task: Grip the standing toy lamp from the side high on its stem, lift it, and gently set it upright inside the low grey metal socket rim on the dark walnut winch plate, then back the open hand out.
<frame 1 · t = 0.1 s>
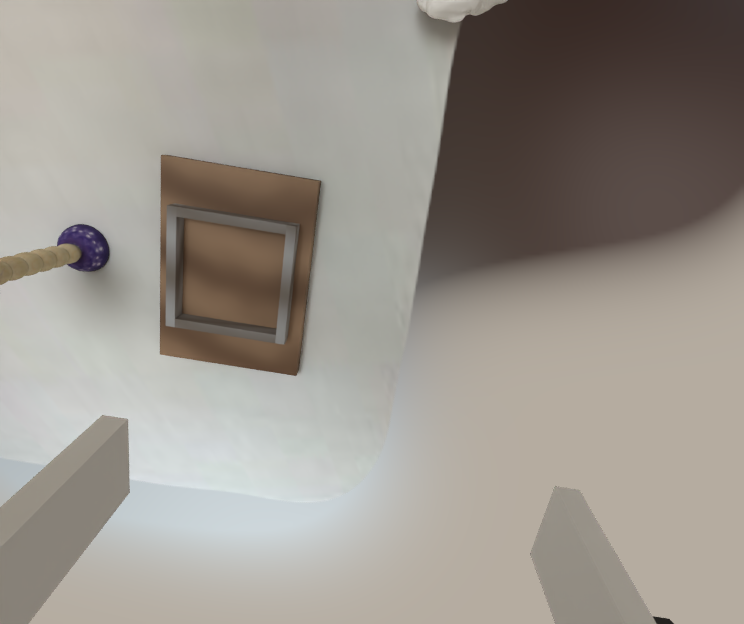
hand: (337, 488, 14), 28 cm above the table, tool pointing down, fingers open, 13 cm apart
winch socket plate: (238, 270, 41), on the table
toy lamp: (90, 246, 40), on the table
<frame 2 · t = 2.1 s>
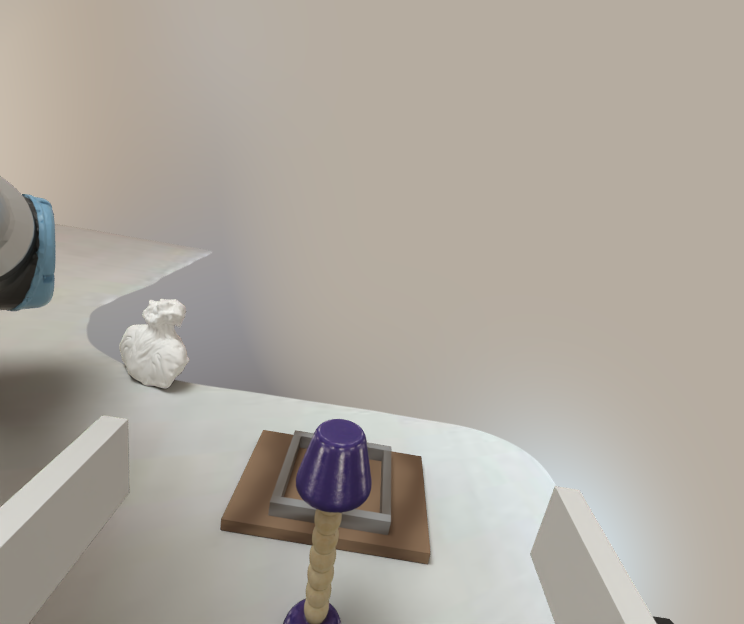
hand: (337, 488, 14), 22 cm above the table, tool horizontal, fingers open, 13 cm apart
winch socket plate: (333, 492, 44), on the table
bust: (157, 374, 60), on the table
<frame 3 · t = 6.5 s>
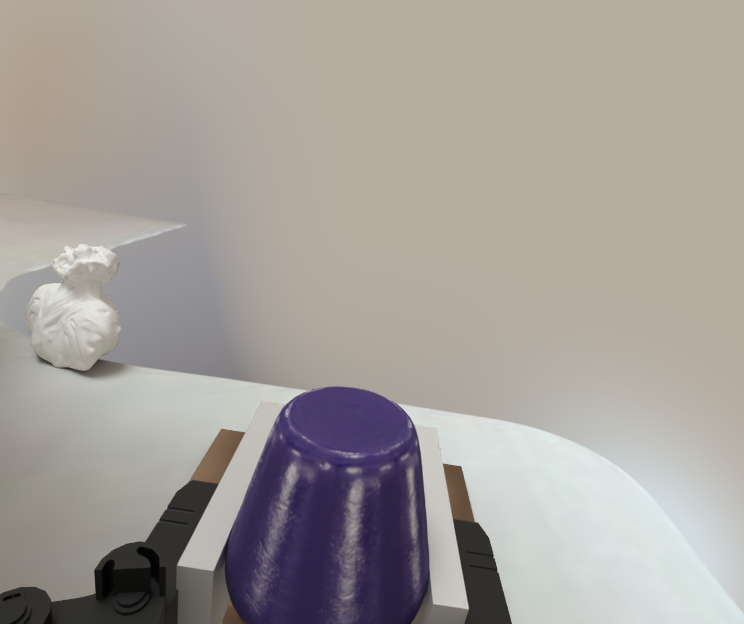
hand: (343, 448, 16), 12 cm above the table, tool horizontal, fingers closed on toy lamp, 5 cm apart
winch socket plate: (329, 529, 27), on the table
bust: (80, 353, 42), on the table
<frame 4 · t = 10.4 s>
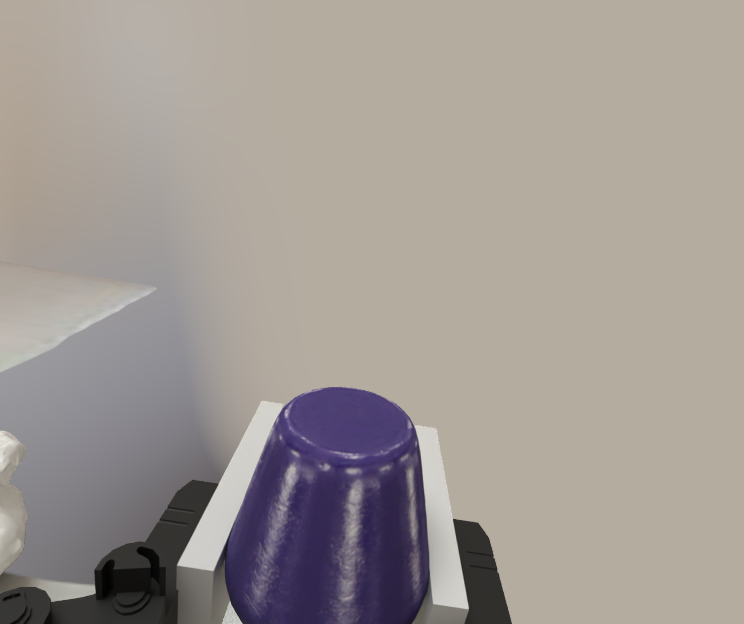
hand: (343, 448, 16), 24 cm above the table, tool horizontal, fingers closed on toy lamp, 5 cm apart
when the fingers open (14 cm above the table, at t = 14.6 s): toy lamp stays where it is, resting on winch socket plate.
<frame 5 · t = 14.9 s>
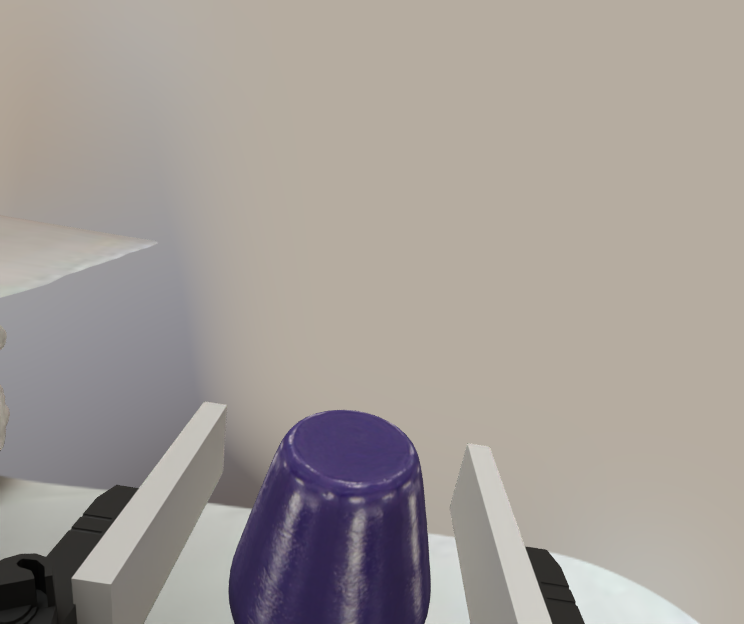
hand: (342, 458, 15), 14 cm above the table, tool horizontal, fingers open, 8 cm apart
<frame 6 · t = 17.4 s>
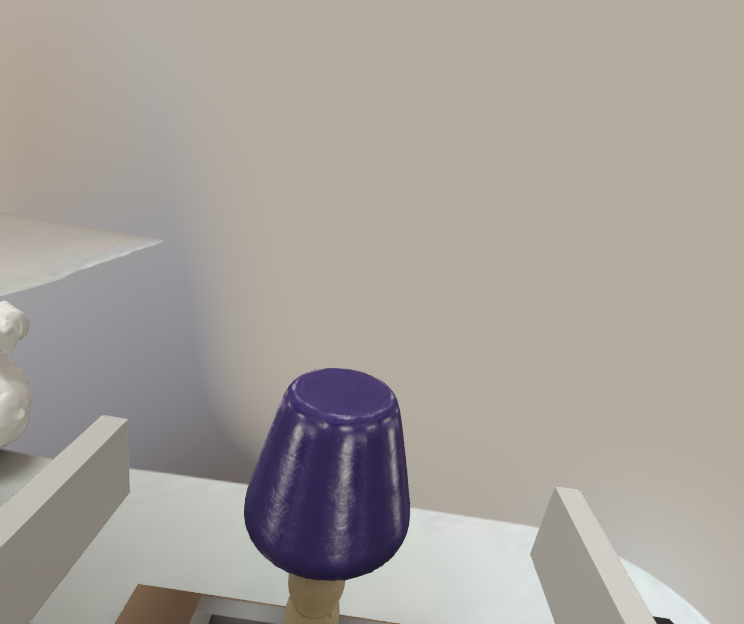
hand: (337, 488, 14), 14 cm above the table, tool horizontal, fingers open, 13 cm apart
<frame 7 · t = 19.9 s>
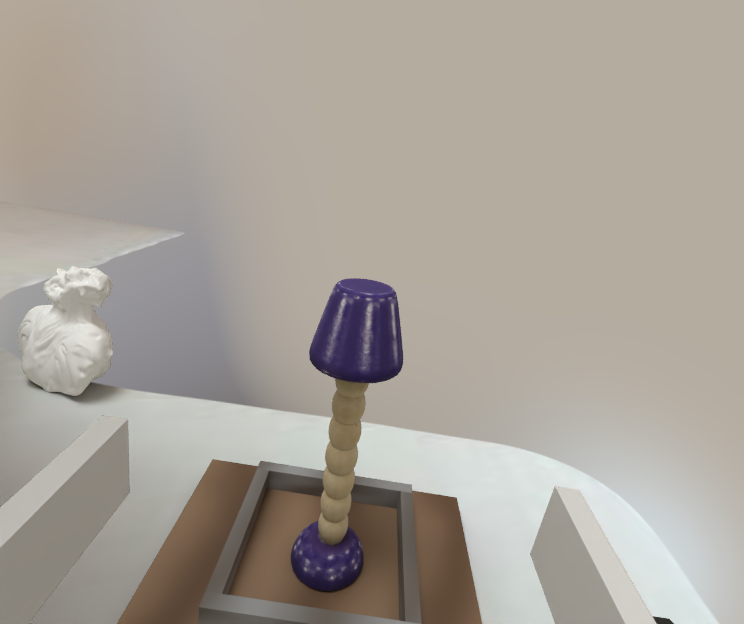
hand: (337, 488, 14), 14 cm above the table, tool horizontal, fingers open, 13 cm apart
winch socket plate: (320, 568, 27), on the table
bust: (72, 376, 42), on the table
toy lamp: (324, 556, 26), point 1 cm above the table, touching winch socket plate
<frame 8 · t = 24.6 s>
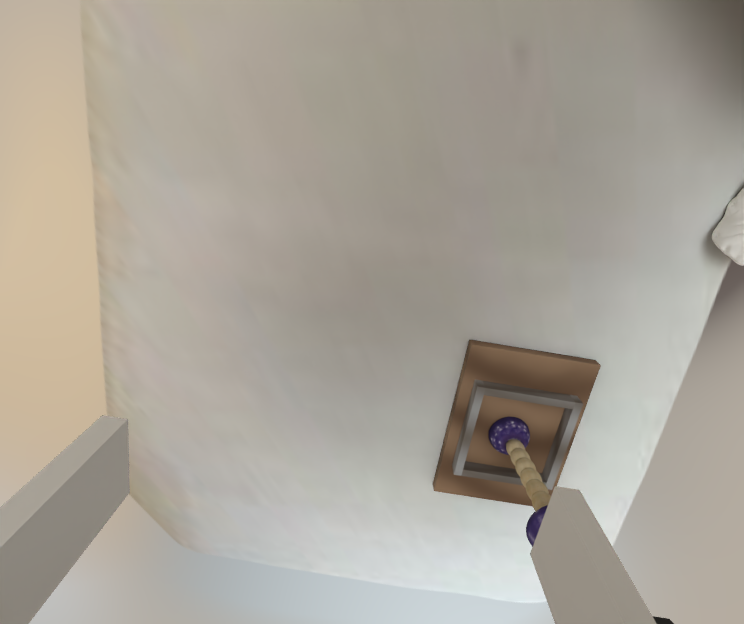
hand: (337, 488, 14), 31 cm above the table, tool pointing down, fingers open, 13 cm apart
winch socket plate: (509, 425, 48), on the table
toy lamp: (511, 431, 47), point 1 cm above the table, touching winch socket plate
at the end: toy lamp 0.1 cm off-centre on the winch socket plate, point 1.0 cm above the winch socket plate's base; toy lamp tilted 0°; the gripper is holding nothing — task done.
